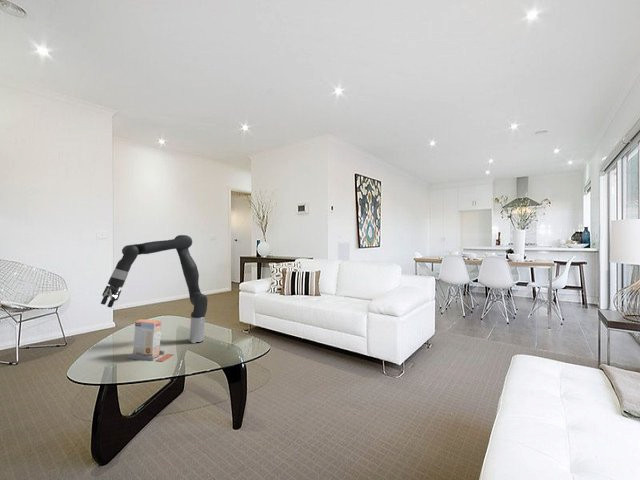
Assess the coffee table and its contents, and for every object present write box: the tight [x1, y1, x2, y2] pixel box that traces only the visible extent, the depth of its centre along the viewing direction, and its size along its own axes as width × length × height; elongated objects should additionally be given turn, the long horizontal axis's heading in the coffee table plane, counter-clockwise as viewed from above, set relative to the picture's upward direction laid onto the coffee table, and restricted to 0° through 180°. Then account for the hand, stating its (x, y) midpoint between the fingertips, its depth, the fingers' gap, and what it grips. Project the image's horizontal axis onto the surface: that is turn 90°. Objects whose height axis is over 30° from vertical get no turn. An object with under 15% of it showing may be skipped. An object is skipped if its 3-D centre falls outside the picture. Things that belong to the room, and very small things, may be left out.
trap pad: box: [155, 353, 175, 362], centre depth 177 cm, size 11×4×1 cm, turn 174°
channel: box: [126, 349, 166, 361], centre depth 178 cm, size 11×16×2 cm, turn 84°
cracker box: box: [132, 318, 162, 359], centre depth 178 cm, size 14×6×21 cm, turn 74°
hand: (105, 305), depth 169 cm, fingers open, 8 cm apart
